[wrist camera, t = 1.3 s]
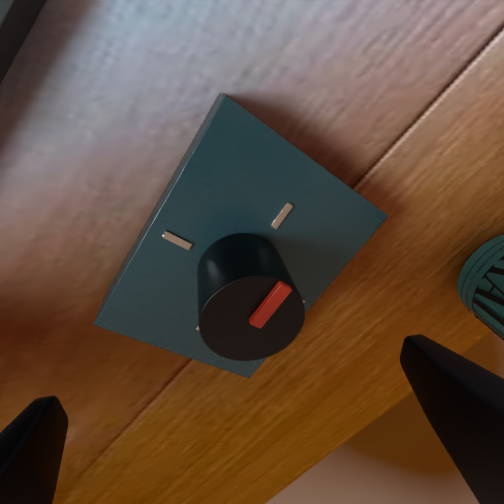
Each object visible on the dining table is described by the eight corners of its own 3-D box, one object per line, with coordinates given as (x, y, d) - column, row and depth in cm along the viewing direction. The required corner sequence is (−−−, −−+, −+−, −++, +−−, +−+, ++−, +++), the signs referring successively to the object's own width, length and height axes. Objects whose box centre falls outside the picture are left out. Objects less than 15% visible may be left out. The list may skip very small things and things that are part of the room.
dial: (251, 316, 18) (266, 378, 14) (181, 285, 16) (177, 347, 12) (298, 257, 16) (329, 308, 13) (227, 216, 15) (238, 262, 11)
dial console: (242, 345, 23) (249, 380, 20) (106, 292, 19) (91, 327, 16) (361, 198, 19) (390, 217, 16) (219, 92, 15) (225, 94, 12)
